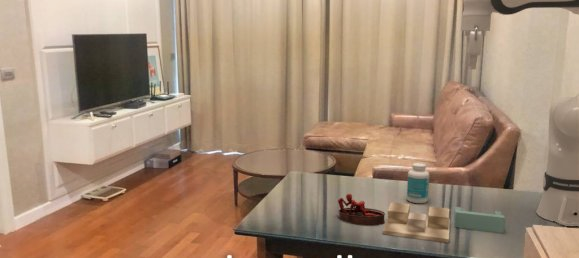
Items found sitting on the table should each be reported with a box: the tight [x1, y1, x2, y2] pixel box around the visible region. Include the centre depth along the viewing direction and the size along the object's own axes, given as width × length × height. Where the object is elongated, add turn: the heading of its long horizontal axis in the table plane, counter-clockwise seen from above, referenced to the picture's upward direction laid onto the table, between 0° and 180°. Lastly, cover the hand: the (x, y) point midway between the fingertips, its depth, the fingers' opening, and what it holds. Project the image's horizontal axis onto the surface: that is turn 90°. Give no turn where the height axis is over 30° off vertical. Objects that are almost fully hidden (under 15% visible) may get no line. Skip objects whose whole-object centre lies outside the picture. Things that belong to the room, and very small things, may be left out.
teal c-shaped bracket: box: [454, 206, 506, 234], centre depth 153 cm, size 14×12×5 cm
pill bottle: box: [406, 162, 430, 204], centre depth 173 cm, size 8×7×14 cm
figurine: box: [337, 193, 386, 227], centre depth 157 cm, size 15×10×10 cm, turn 82°
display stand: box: [382, 201, 451, 244], centre depth 149 cm, size 19×16×5 cm
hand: (472, 68), depth 160 cm, fingers open, 8 cm apart
